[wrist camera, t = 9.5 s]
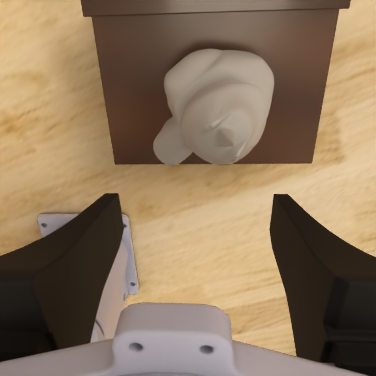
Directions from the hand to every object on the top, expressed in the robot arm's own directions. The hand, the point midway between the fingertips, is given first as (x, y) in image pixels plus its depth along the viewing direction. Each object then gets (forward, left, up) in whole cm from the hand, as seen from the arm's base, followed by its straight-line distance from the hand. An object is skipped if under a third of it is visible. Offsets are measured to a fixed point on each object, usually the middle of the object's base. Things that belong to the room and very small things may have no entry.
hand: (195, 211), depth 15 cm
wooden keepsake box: (+4, -1, -10) cm, 11 cm away
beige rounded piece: (+4, -1, -6) cm, 7 cm away
